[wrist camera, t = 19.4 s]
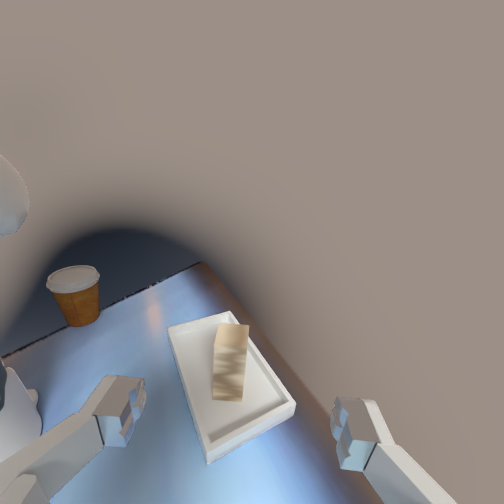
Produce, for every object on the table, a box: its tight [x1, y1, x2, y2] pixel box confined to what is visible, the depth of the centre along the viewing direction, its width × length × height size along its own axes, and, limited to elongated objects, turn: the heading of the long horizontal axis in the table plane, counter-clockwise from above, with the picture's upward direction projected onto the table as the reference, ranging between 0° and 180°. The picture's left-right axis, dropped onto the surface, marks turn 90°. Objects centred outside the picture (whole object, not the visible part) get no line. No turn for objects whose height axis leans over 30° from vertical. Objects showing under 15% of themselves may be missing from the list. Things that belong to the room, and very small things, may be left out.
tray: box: [167, 311, 296, 465], centre depth 45 cm, size 26×15×3 cm, turn 29°
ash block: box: [212, 323, 249, 402], centre depth 39 cm, size 5×5×12 cm
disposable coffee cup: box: [46, 265, 100, 327], centre depth 54 cm, size 10×10×12 cm
